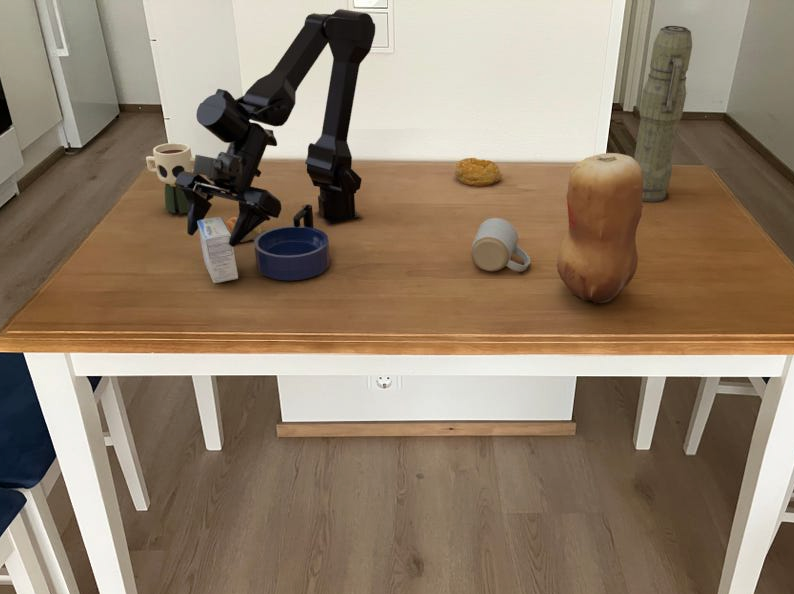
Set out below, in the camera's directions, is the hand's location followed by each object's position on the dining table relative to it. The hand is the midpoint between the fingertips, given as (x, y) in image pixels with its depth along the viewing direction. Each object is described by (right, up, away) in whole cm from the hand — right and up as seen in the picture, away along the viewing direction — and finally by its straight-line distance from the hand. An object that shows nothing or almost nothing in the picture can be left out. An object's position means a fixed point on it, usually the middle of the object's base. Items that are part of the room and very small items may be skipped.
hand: (210, 240), depth 131 cm
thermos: (+85, +17, +44) cm, 97 cm away
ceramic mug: (+50, -3, +13) cm, 52 cm away
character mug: (-15, +11, +30) cm, 35 cm away
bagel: (+47, +21, +48) cm, 71 cm away
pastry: (0, +3, +20) cm, 20 cm away
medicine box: (0, -5, +5) cm, 7 cm away
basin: (+12, -3, +10) cm, 16 cm away
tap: (+14, 0, +15) cm, 20 cm away
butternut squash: (+65, -10, +3) cm, 66 cm away
